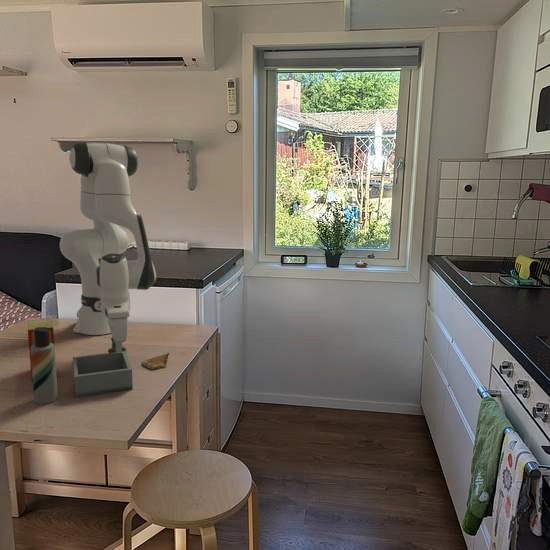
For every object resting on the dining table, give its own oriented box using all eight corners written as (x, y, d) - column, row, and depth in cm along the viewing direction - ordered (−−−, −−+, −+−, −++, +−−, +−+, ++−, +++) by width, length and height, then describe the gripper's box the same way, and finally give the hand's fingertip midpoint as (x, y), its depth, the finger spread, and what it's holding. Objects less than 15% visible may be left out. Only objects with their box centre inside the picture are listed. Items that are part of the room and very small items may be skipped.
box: (73, 376, 145) (72, 357, 144) (125, 369, 151) (125, 351, 150) (75, 397, 131) (74, 376, 130) (132, 389, 137) (132, 369, 136)
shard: (169, 356, 163) (168, 351, 163) (183, 363, 158) (183, 358, 158) (140, 365, 155) (140, 360, 155) (154, 372, 150) (154, 367, 150)
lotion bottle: (39, 394, 132) (34, 324, 128) (61, 394, 133) (56, 324, 129) (30, 404, 127) (24, 331, 123) (53, 404, 127) (48, 331, 123)
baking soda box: (32, 369, 149) (28, 319, 145) (55, 366, 151) (52, 317, 148) (31, 381, 140) (27, 329, 137) (56, 378, 143) (53, 326, 140)
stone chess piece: (106, 358, 159) (105, 323, 157) (125, 355, 162) (123, 321, 159) (109, 364, 154) (108, 328, 151) (128, 362, 157) (127, 326, 154)
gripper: (102, 298, 162) (104, 337, 165) (108, 315, 144) (110, 359, 147) (121, 296, 165) (123, 335, 167) (130, 313, 146) (131, 356, 149)
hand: (117, 346), depth 157 cm, fingers open, 7 cm apart
